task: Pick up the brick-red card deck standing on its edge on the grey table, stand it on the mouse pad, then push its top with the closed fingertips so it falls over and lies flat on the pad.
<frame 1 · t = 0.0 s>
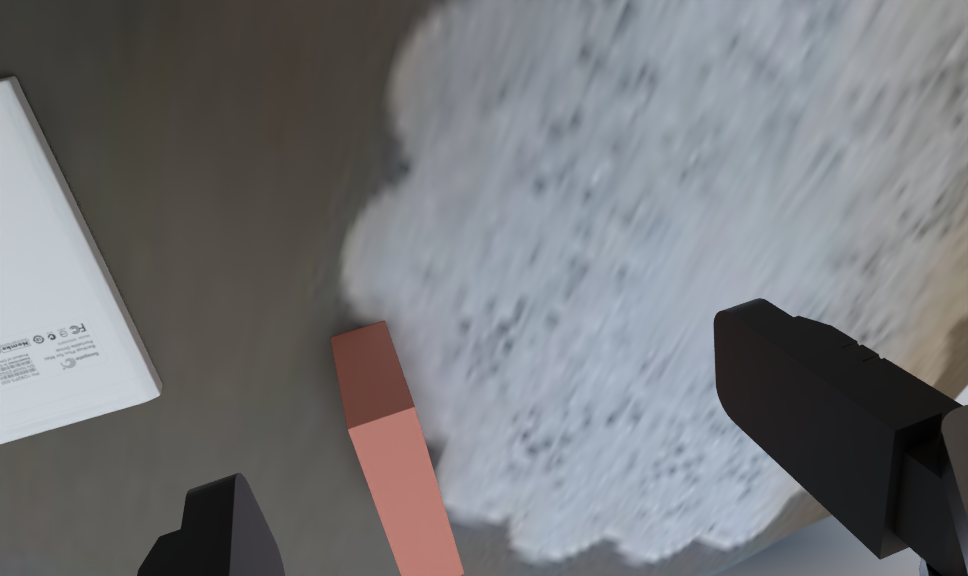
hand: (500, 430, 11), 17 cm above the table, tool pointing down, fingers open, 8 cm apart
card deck: (383, 408, 31), on the table
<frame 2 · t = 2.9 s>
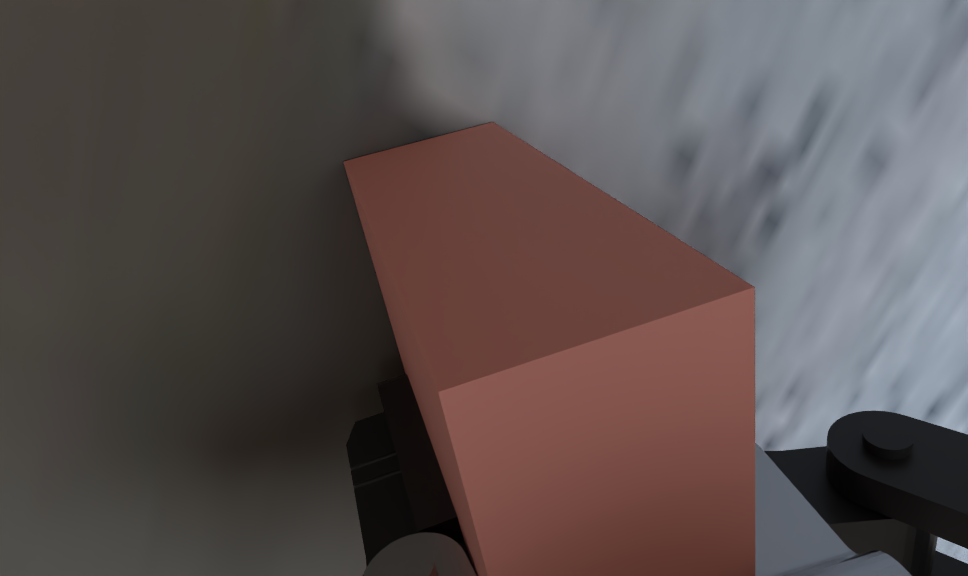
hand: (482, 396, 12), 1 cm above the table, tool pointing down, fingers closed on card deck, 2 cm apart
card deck: (475, 378, 12), on the table, touching gripper
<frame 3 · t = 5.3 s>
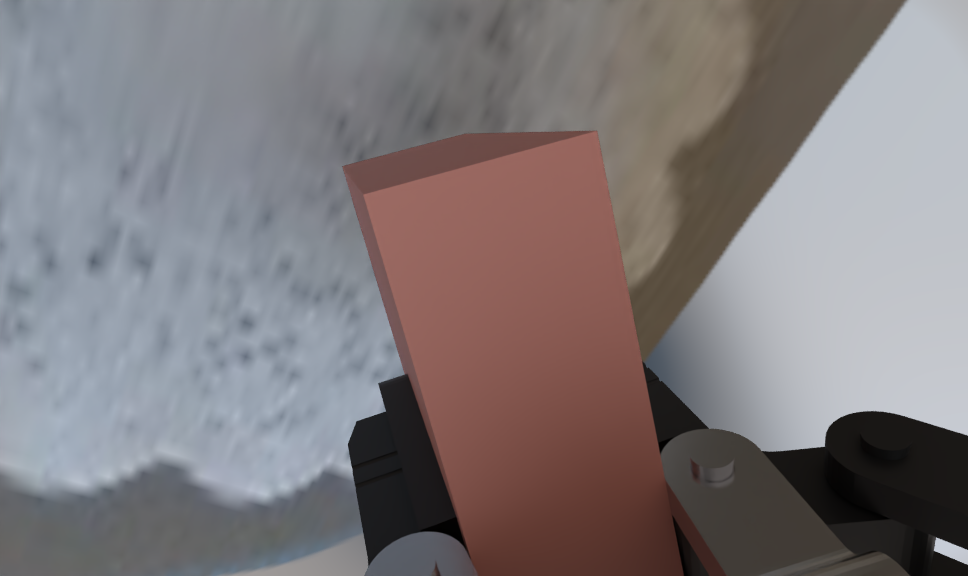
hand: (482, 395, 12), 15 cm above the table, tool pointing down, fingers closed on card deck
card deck: (463, 365, 14), point 13 cm above the table, tilted 12°, touching gripper
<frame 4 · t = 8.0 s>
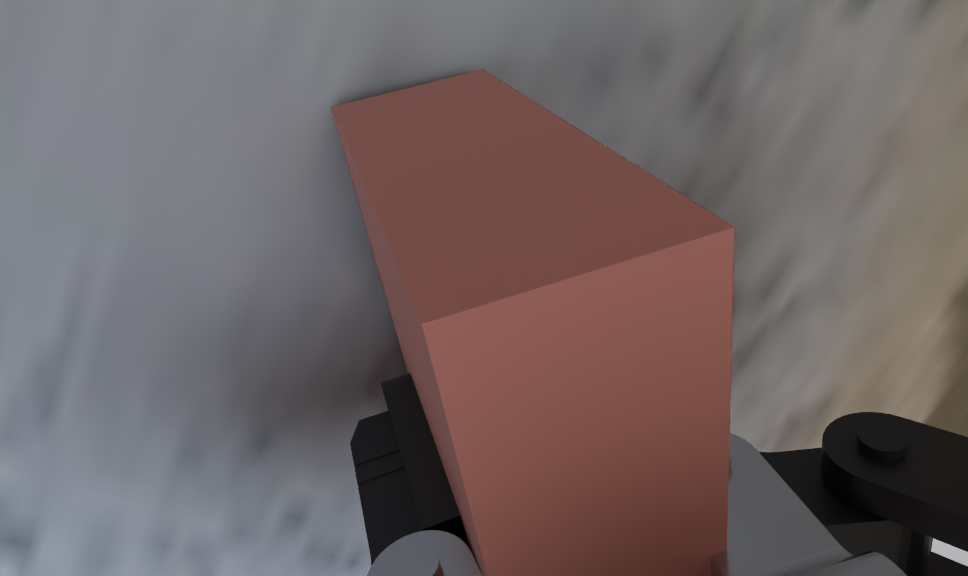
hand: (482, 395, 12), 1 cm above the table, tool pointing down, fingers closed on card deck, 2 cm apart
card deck: (462, 328, 13), on the table, touching gripper
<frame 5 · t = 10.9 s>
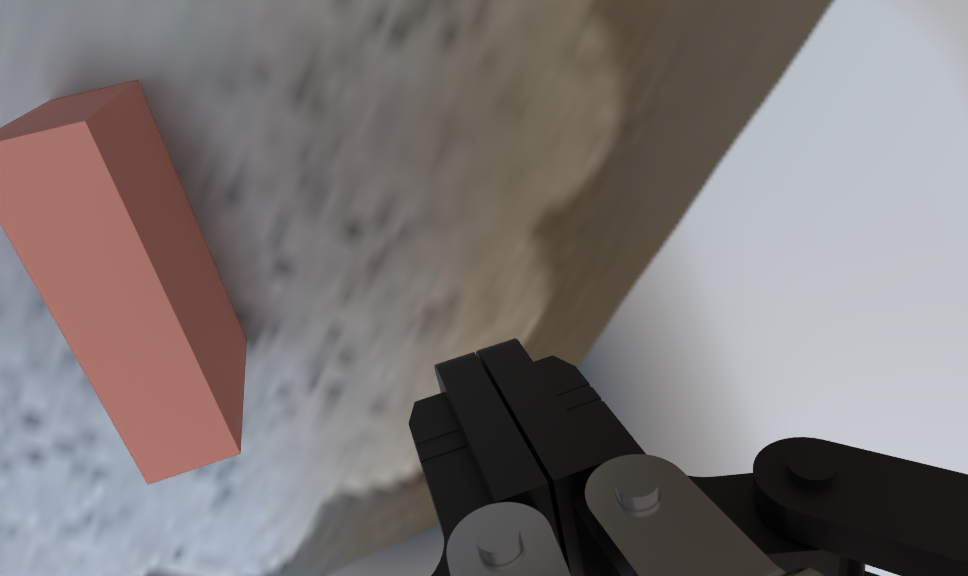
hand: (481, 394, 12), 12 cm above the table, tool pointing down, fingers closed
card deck: (159, 232, 21), on the table
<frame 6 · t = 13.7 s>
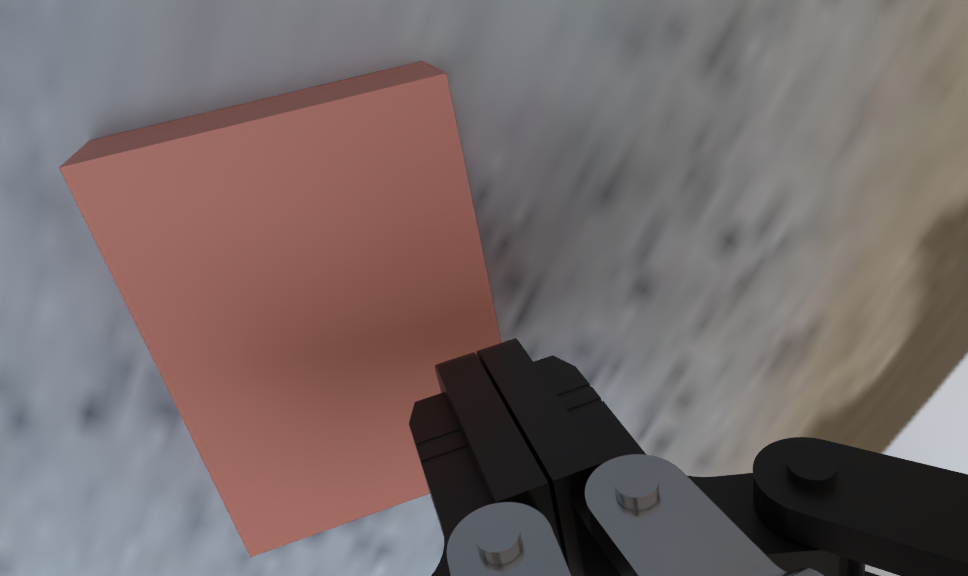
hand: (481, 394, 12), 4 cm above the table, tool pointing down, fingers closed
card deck: (475, 272, 15), point 1 cm above the table, tilted 90°, touching mouse pad
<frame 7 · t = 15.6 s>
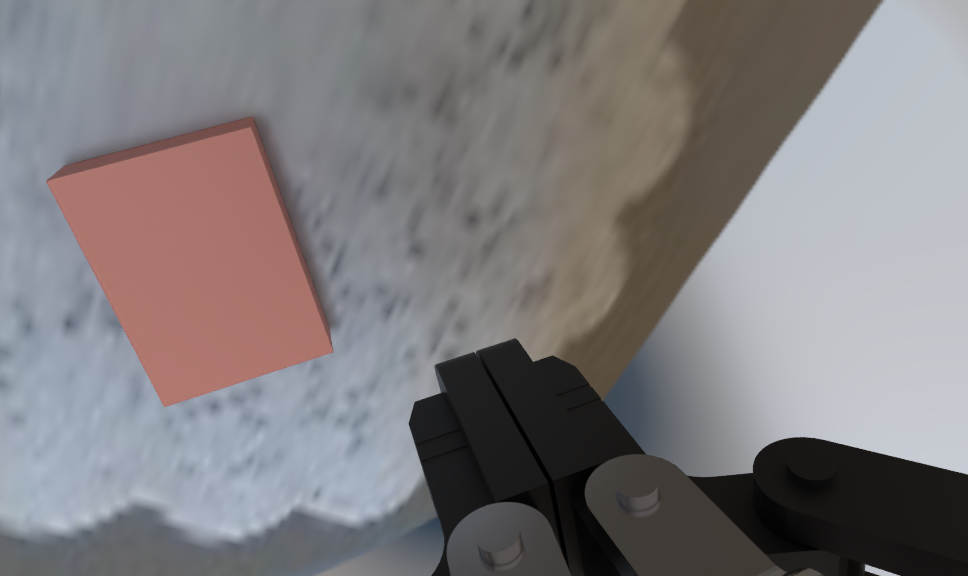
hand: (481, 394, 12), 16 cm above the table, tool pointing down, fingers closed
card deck: (294, 238, 25), point 1 cm above the table, tilted 90°, touching mouse pad
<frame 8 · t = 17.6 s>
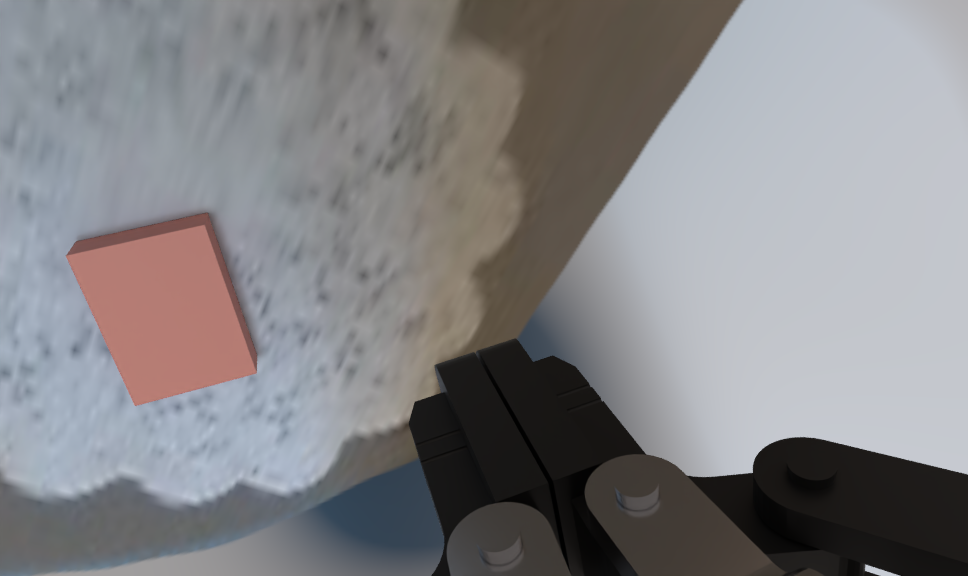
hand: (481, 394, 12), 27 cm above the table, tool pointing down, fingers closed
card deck: (233, 294, 37), point 1 cm above the table, tilted 90°, touching mouse pad
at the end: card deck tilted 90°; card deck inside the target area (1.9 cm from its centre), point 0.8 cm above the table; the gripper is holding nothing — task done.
